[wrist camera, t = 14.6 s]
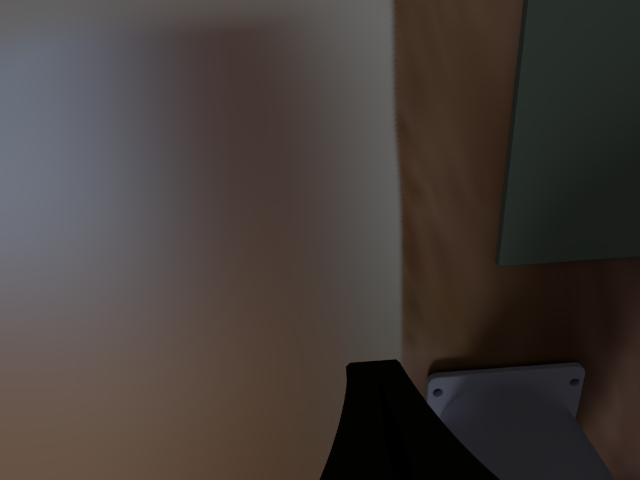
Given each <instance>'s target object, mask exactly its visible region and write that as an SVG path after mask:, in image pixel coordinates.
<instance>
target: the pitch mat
mask: <svg viewBox="0 0 640 480" xmlns="http://www.w3.org/2000/svg"><path fill="white" fill-rule="evenodd" d="M639 256H640V0H524V3H523V13H522V22H521V31H520V40H519V50H518V59H517V68H516V78H515V87H514V96H513V106H512V115H511V124H510V133H509V143H508V152H507V161H506V171H505V180H504V189H503V198H502V208H501V217H500V226H499V236H498V245H497V254H496V263H497V265H498V266H511V265H526V264H540V263H554V262H568V261H582V260H597V259H611V258H625V257H639Z"/></svg>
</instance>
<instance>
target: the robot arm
mask: <svg viewBox="0 0 640 480" xmlns="http://www.w3.org/2000/svg"><path fill="white" fill-rule="evenodd" d="M346 375H347V386H346V394H345V400H344V405H343V409H342V414H341V419H340V422H339V426H338V430H337V433H336V436H335V439H334V443H333V446H332V449H331V452H330V455H329V457H328V460H327V463H326V465H325V468H324V470H323V473H322V475H321V478H320V480H615V479H614V477H613V476H612V474H611V473H610V471H609V470H608V468H607V467H606V465H605V464H604V462H603V461H602V459H601V458H600V456H599V454H598V453H597V451H596V450H595V448H594V447H593V445H592V444H591V442H590V441H589V439H588V438H587V436H586V435H585V433H584V432H583V430H582V429H581V427H580V426H579V424H578V423H577V421H576V414H577V410H578V405H579V400H580V396H581V391H582V387H583V382H584V377H585V369H584V368H583V367H582V365H581V364H579V363H561V364H547V365H534V366H520V367H507V368H493V369H480V370H466V371H453V372H439V373H433V374H431V375H430V376H429V377H428V378H427V385H426V401H425V399H424V398H423V397H422V395H421V394H420V392H419V391H418V390H417V388H416V387H415V385H414V384H413V383H412V381H411V380H410V378H409V377H408V375H407V374H406V372H405V370H404V369H403V367H402V365H401V364H400V362H399V361H397V360H396V359H395V360H382V361H369V362H354V363H350V364H349V365H347V366H346ZM572 379H574V380H573V381H571V380H572ZM435 389H440V390H438V391H434V390H435Z"/></svg>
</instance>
